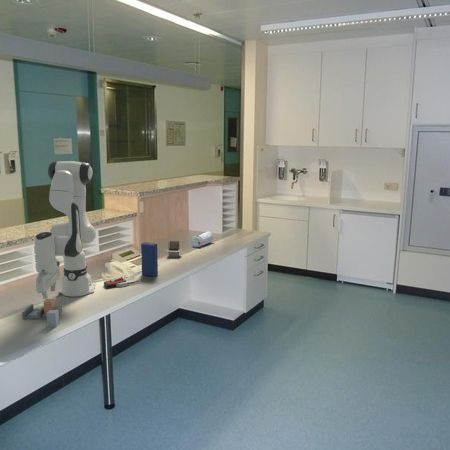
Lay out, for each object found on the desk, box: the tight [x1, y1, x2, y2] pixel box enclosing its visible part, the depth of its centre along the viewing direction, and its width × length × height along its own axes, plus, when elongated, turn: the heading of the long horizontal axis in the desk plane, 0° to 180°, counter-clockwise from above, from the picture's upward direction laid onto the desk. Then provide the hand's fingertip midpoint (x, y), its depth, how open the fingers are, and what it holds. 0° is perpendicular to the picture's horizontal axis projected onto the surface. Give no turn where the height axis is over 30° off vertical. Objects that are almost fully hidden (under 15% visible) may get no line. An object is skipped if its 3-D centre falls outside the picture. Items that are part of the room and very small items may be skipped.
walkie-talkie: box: [103, 276, 140, 289], centre depth 265 cm, size 9×4×20 cm
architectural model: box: [166, 240, 182, 259], centre depth 324 cm, size 19×17×11 cm
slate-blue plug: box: [46, 310, 60, 328], centre depth 208 cm, size 4×4×6 cm
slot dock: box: [21, 304, 63, 321], centre depth 219 cm, size 10×15×4 cm, turn 90°
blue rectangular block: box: [140, 241, 159, 277], centre depth 282 cm, size 10×5×20 cm, turn 62°
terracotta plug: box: [43, 298, 57, 315], centre depth 219 cm, size 4×4×6 cm
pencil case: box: [190, 231, 214, 248], centre depth 359 cm, size 21×9×10 cm, turn 149°
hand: (49, 294), depth 218 cm, fingers open, 8 cm apart
